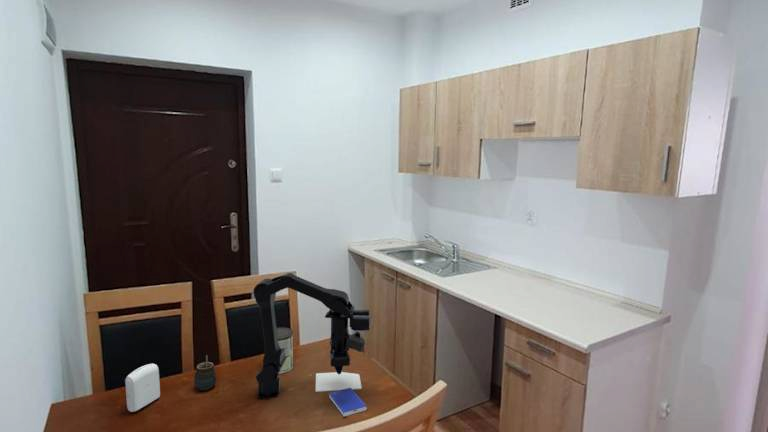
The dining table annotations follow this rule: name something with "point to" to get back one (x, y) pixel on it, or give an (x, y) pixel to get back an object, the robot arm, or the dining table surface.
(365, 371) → the dining table surface
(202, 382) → the mate gourd
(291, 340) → the coffee can
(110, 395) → the dining table surface
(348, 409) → the hard drive
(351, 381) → the rubber mat
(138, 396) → the photo printer
